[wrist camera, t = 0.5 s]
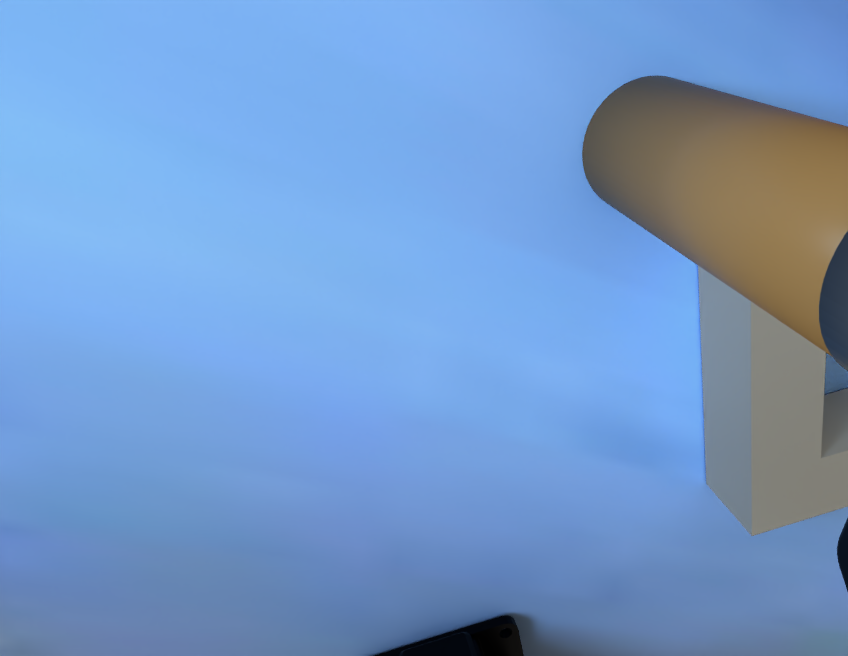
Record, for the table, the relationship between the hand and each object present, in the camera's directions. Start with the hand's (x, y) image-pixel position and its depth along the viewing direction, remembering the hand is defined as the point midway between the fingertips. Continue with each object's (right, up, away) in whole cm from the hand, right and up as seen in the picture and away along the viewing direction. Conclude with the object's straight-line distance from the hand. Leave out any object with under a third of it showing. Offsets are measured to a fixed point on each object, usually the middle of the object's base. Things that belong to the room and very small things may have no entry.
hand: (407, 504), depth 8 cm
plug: (+7, +7, +15) cm, 18 cm away
